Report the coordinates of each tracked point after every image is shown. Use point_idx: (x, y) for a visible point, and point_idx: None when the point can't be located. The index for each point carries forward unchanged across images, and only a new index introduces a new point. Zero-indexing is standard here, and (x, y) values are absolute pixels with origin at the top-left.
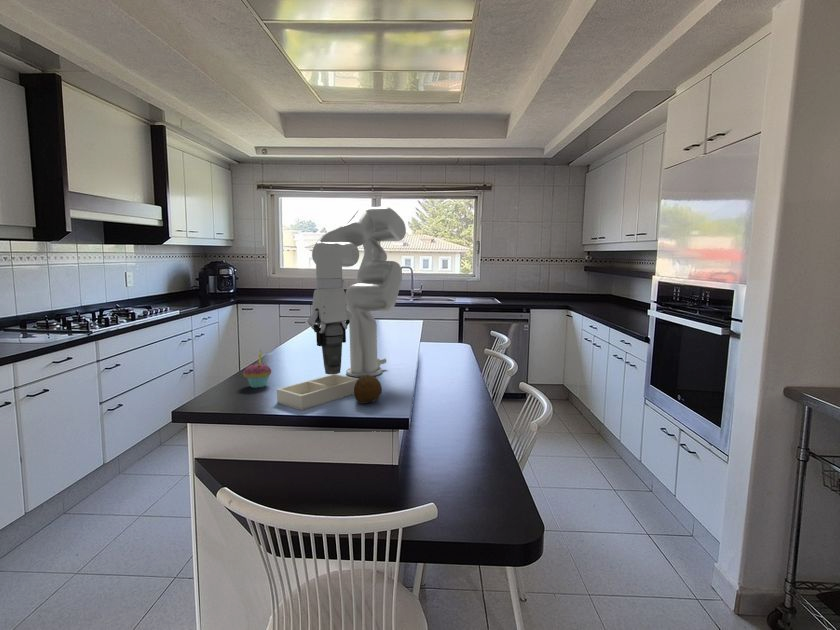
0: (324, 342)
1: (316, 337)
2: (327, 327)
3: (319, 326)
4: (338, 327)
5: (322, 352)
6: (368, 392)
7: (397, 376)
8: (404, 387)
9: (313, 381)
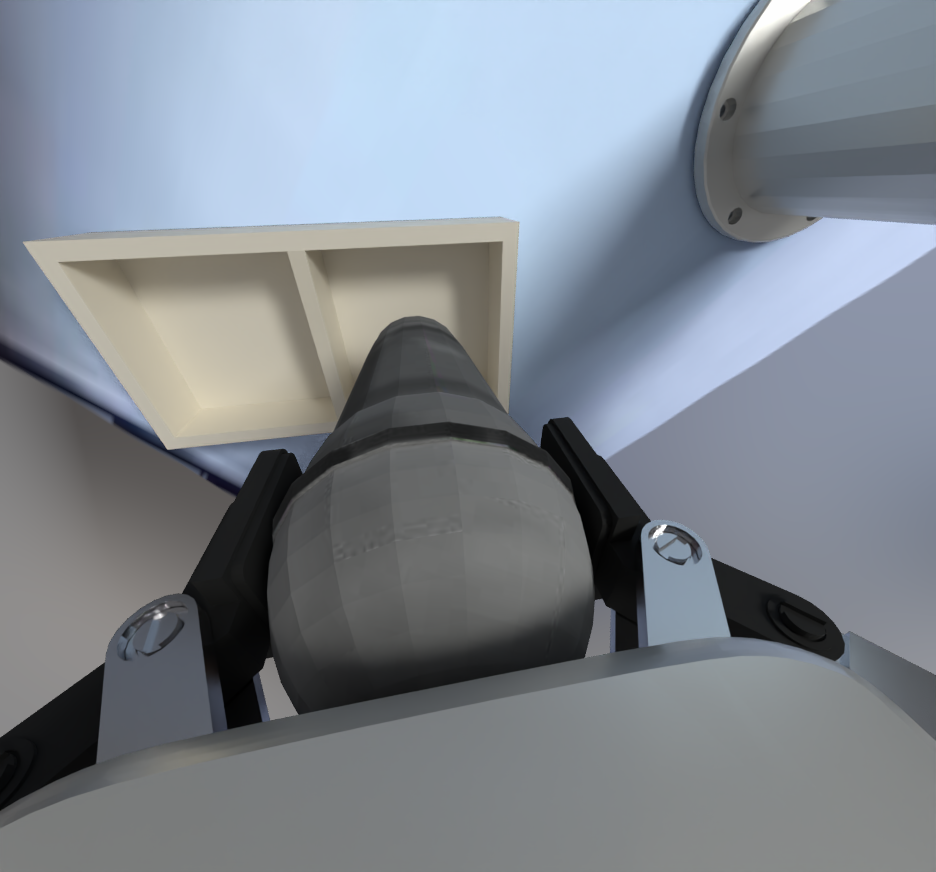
0: None
1: (206, 550)
2: None
3: (203, 707)
4: None
5: (354, 387)
6: None
7: (750, 327)
8: (614, 446)
9: (331, 248)
